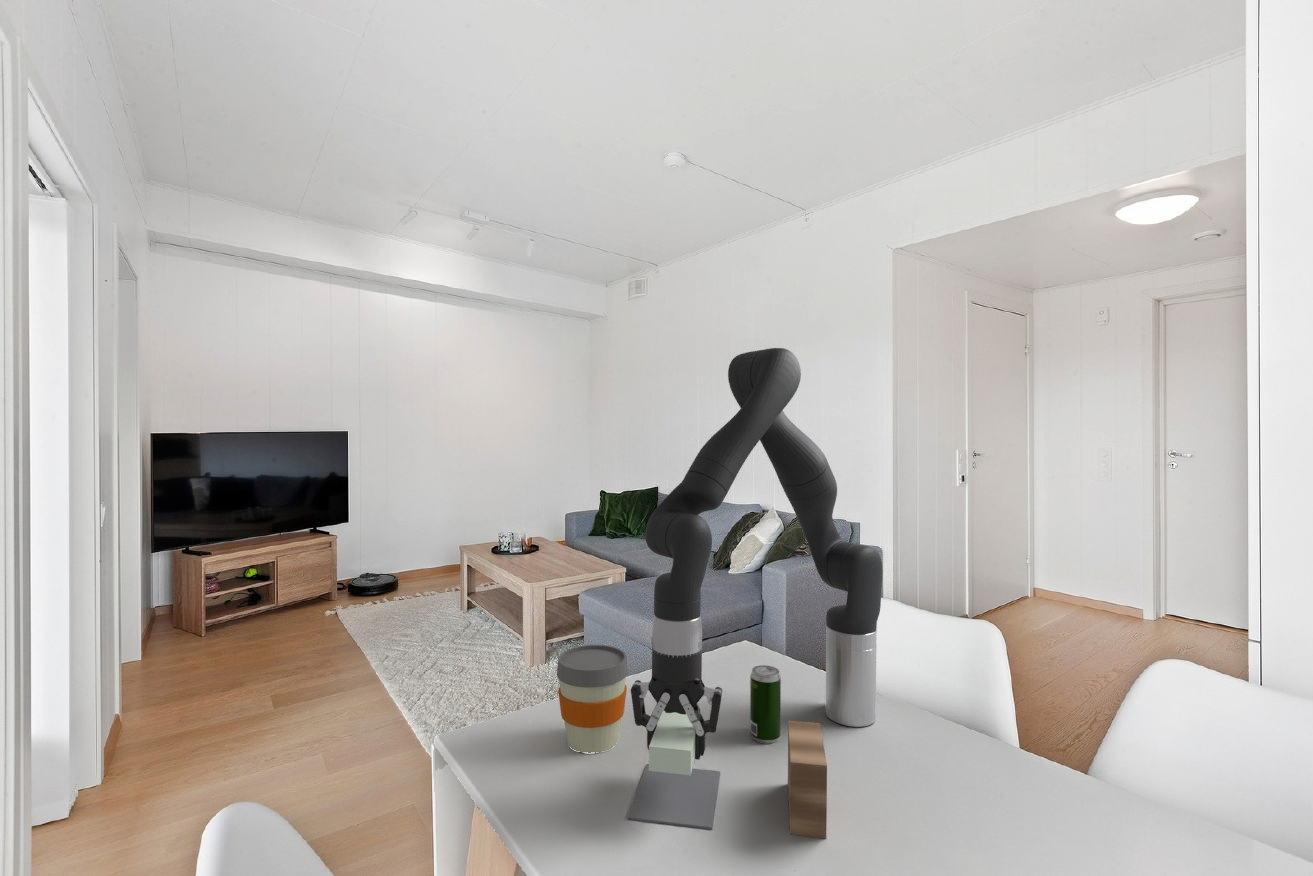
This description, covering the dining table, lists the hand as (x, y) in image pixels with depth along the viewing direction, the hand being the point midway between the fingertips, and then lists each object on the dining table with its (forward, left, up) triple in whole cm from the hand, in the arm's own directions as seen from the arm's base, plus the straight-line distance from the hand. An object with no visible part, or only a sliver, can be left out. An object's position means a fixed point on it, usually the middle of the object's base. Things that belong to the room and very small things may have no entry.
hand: (675, 754), depth 93 cm
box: (0, +19, -6) cm, 20 cm away
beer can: (-20, +13, -6) cm, 25 cm away
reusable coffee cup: (-13, -17, -6) cm, 22 cm away
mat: (0, 0, -6) cm, 6 cm away
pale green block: (0, 0, +1) cm, 1 cm away
